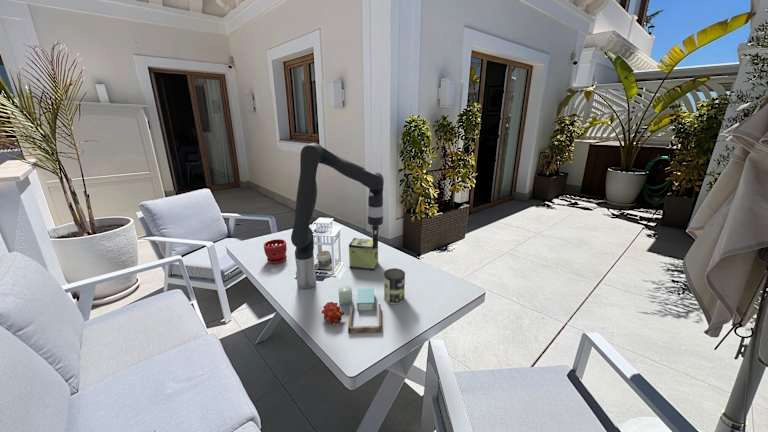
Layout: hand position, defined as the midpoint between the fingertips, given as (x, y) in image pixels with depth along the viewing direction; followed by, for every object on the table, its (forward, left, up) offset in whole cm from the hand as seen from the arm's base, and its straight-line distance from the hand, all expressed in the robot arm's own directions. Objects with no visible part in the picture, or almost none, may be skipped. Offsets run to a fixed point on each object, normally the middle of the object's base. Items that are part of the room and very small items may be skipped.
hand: (375, 244), depth 150 cm
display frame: (-5, -27, -25) cm, 37 cm away
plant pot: (-62, +32, -25) cm, 74 cm away
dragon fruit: (-19, -26, -25) cm, 41 cm away
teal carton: (-5, -14, -25) cm, 29 cm away
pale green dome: (-15, -13, -25) cm, 31 cm away
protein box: (-7, +23, -25) cm, 35 cm away
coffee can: (+9, -11, -25) cm, 29 cm away
